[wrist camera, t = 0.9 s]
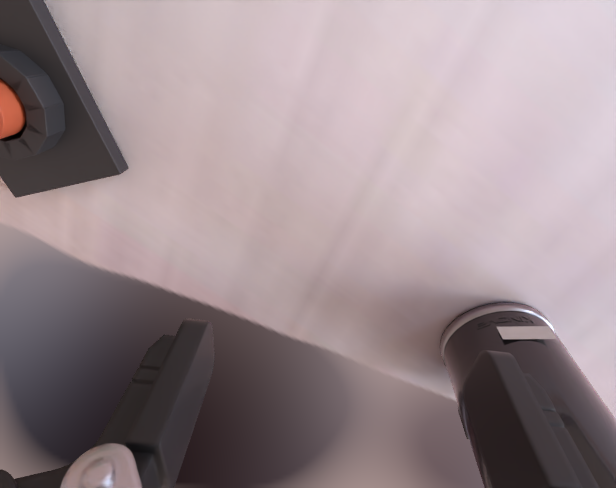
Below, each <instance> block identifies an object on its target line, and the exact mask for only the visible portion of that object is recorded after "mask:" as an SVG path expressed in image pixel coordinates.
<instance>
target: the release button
mask: <svg viewBox="0 0 616 488" xmlns="http://www.w3.org/2000/svg"><path fill="white" fill-rule="evenodd" d="M25 121H26V113H25V109H24V106H23V104H22V102H21V100H20V98H19V97H18V95H17V93H16V92H15V91H14V90H13V89H12V88H11V87H10V86H9V85H8V84H7V83H6V82H4V81H3V80H1V79H0V139H2V138H5V137H8V136H11V135H14V134H17V133H18V132H20V131H21V130H22V129H23V127H24V125H25Z"/></svg>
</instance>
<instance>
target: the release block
mask: <svg viewBox="0 0 616 488" xmlns="http://www.w3.org/2000/svg"><path fill="white" fill-rule="evenodd" d="M0 79H1V80H3V81H4V82H6V83H7V84H8V85H9V86H10V87H11V88H12V89H13V90H14V91H15V92H16V93H17V95H18V97H19V98H20V100H21V102H22V104H23V106H24V109H25V113H26V121H25V125H24V127H23V129H22V130H21V131H20V132H18V133H17V134H14V135H11V136H8V137H5V138H2V139H0V176H1V178H2V179H3V181H4V182H5V184H6V185H7V186H8V188H9V189H10V191H11V192H12V193H13V195H14V196H15V197H21V196H25V195H30V194H34V193H39V192H43V191H48V190H52V189H56V188H61V187H65V186H70V185H74V184H79V183H83V182H87V181H92V180H96V179H101V178H105V177H110V176H114V175H118V174H121V173H123V172H124V171H126V170H127V169H128V166H127V164H126V162H125V160H124V158H123V156H122V154H121V152H120V150H119V148H118V146H117V144H116V142H115V140H114V138H113V137H112V135H111V133H110V131H109V129H108V127H107V125H106V123H105V121H104V119H103V117H102V115H101V113H100V111H99V109H98V107H97V105H96V103H95V101H94V99H93V97H92V95H91V93H90V91H89V89H88V87H87V85H86V83H85V81H84V80H83V78H82V76H81V74H80V72H79V70H78V68H77V66H76V64H75V62H74V60H73V58H72V56H71V54H70V52H69V50H68V48H67V46H66V44H65V42H64V40H63V38H62V36H61V34H60V32H59V30H58V28H57V26H56V24H55V23H54V21H53V19H52V17H51V15H50V13H49V11H48V9H47V7H46V5H45V3H44V1H43V0H0Z"/></svg>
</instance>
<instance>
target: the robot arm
mask: <svg viewBox="0 0 616 488" xmlns="http://www.w3.org/2000/svg"><path fill="white" fill-rule="evenodd" d="M212 328H213V327H212V322H211V321H204V320H195V319H185V320H184V321H183V322H182V324H181V326H180V328H179V331H178V332H177V334H176V336H169V335H163V336H162V337H161V338H160V339H159V340H158V341H156V342H155V343H154V344H153V345H152V346H151V347H150V348H149V349H148V351H147V353H146V354H145V356H144V358H143V360H142V362H141V364H140V367H139V368H138V369H137V371H136V373H135V374H134V376H133V378H132V382H130V384H129V386H128V388H127V389H126V391H125V393H124V395H123V396H122V398H121V400H120V402H119V404H118V406H117V407H116V409H115V411H114V413H113V415H112V417H111V419H110V420H109V422H108V424H107V426H106V427H105V429H104V431H103V433H102V435H101V437H100V438H99V440H98V441H97V442H96V444H95V445H94V446H93V447H92V448H91V449H90V450H89V451H87V452H86V453H84V454H83V455H81V456H80V457H79V458H78V459H77V460H76V461H74V462H73V463H71V464H69V465H67V466H64V467H62V468H59V469H55V470H52V471H47V472H43V473H38V474H34V475H30V476H25V477H21V478H17V479H14V478H13V477H12V476H11V475H10V474H9V473H8V472H6V471H4V470H0V488H174V486H175V483H176V480H177V477H178V474H179V471H180V468H181V465H182V462H183V459H184V456H185V453H186V450H187V447H188V443H189V441H190V438H191V435H192V432H193V429H194V426H195V423H196V420H197V417H198V414H199V411H200V408H201V405H202V402H203V399H204V396H205V393H206V390H207V387H208V384H209V381H210V378H211V375H212V371H213V367H214V357H215V353H214V340H213V329H212ZM440 351H441V355H442V358H443V361H444V364H445V366H446V367H447V370H448V373H449V376H450V379H451V383H452V386H453V389H454V393H455V396H456V399H457V402H458V411H459V415H460V418H461V421H462V424H463V428H464V431H465V434H466V437H467V439H469V440H470V443H471V446H472V449H473V452H474V455H475V459H476V462H477V465H478V468H479V471H480V474H481V477H482V481H483V484H484V487H485V488H616V419H615V418H614V416H613V415H612V413H611V412H610V411H609V409H608V408H607V406H606V405H605V403H604V402H603V401H602V399H601V398H600V396H599V395H598V393H597V392H596V391H595V389H594V388H593V386H592V385H591V384H590V382H589V381H588V379H587V378H586V376H585V375H584V374H583V372H582V371H581V369H580V368H579V366H578V365H577V364H576V362H575V361H574V359H573V358H572V356H571V355H570V353H569V352H568V351H567V349H566V348H565V346H564V345H563V343H562V342H561V341H560V339H559V338H558V336H557V335H556V333H555V331H554V329H553V327H552V326H551V324H550V323H549V321H548V320H547V319H546V317H545V316H544V315H543V314H542V313H540V312H539V311H538V310H536V309H534V308H532V307H529V306H526V305H523V304H518V303H494V304H488V305H484V306H481V307H478V308H475V309H472V310H470V311H468V312H466V313H464V314H463V315H461V316H460V317H458V318H457V319H456V320H454V321H453V322H452V323H451V324H450V325H449V326H448V328H447V329H446V330H445V332H444V334H443V336H442V338H441V342H440Z"/></svg>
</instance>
